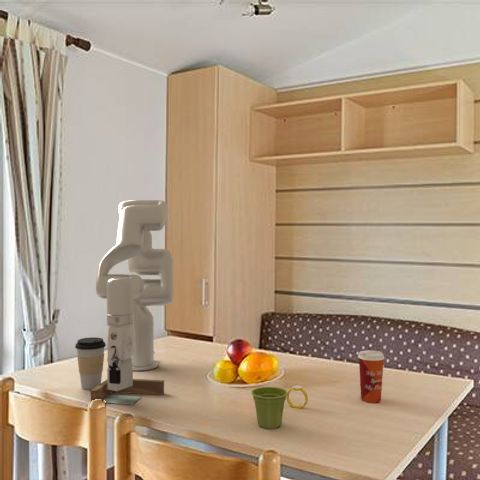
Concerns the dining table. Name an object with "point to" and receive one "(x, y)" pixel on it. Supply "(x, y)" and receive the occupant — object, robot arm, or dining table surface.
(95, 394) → the corner walls
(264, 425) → the plant pot
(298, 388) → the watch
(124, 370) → the white carton
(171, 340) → the dining table surface
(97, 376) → the coffee cup
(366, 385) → the paper cup
